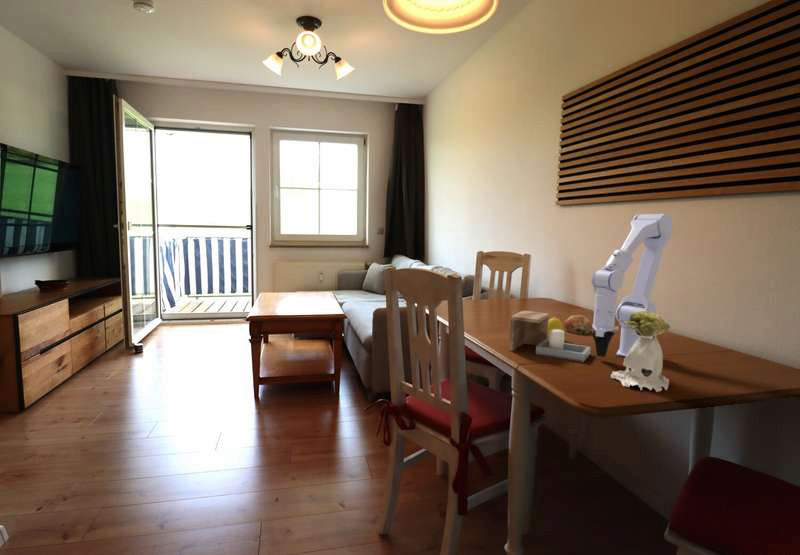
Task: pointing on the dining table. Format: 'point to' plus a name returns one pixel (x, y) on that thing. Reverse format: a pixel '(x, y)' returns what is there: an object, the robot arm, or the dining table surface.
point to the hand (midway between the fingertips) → (601, 355)
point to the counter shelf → (528, 328)
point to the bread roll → (577, 325)
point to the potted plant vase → (644, 353)
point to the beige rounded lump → (556, 339)
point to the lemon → (554, 324)
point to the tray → (564, 351)
